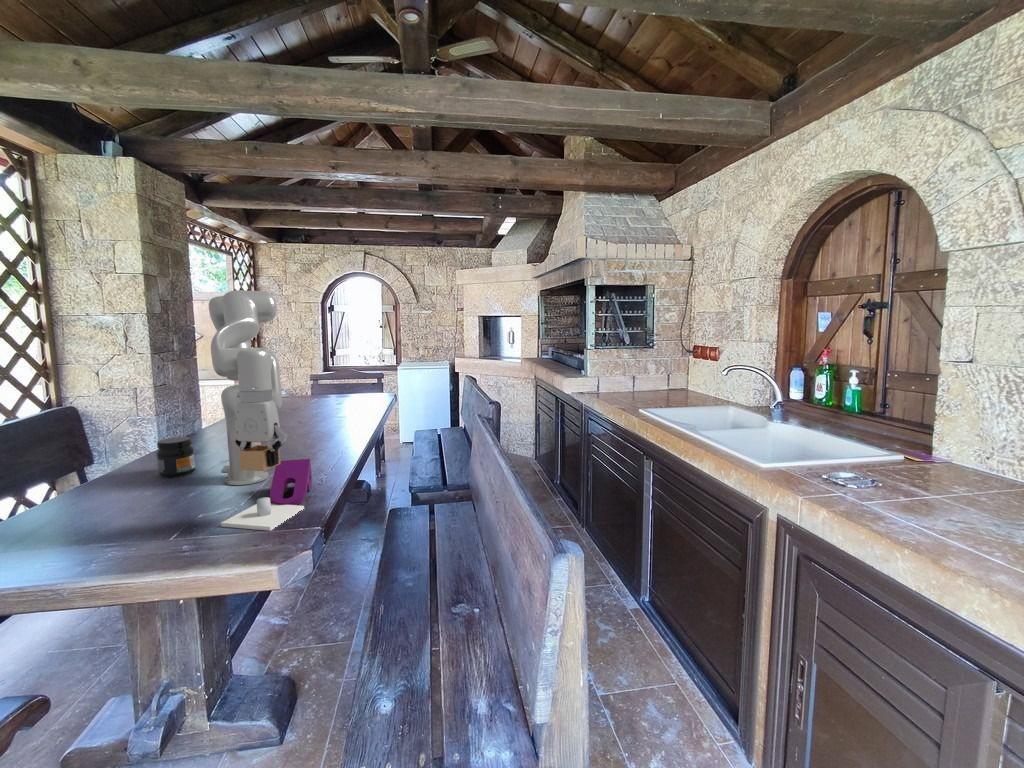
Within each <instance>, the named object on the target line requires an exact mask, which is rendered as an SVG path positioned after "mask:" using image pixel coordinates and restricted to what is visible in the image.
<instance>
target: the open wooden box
mask: <svg viewBox="0 0 1024 768" xmlns="http://www.w3.org/2000/svg"><path fill="white" fill-rule="evenodd" d="M280 450H281V448H280V449H278V456H279V463H278V464H277V465H279V464H281V462H280V461H281V451H280ZM269 451H270V450H269V448H268V446H267V444H261V445H256V446H253V447H250V448H247V449H244V450H241V451H239V454H240V467H241V470H251V471H267V470H269V469H272V468H275V467H276V466H277V465H275V466H272V467H269V465H268V452H269Z"/></svg>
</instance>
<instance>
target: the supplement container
mask: <svg viewBox="0 0 1024 768" xmlns="http://www.w3.org/2000/svg"><path fill="white" fill-rule="evenodd" d="M156 446H157V448H158V449H156V452H155V454H156V461H157V474H158V476H159V477H160V478H162V479H175V478H174V477H176V478H181V477H180V476H182V477H185V475H186V476H189V475H191V474H193V473H194V472H195V471H196V465H195V454H194V450H195V448H194V446H193V445H192V438H191V437H188V436H175V437H168V438H164V439H159V440H158V441H157V442H156ZM188 474H189V475H188Z"/></svg>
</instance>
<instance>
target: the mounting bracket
mask: <svg viewBox="0 0 1024 768" xmlns="http://www.w3.org/2000/svg"><path fill="white" fill-rule="evenodd" d="M280 462H281V464H279V465H277V466H275V467H274V468H275V469H274V473H273V476H272V481H271V486H270V490H269V498H270V503H272V504H277V505H297V504H298V505H300V504H301V503H303V501H305V499H306V498H307V493H308V492H311V490H312V484H313V483H312V481H313V479H312V478H313V475H312V474H313V473H312V466H311V459H310V458H302V459H287V460H280ZM289 484H294V489H293V493H292V496H291V497H288V498H284V494H286V493H287V491H288V487H289V486H288V485H289ZM310 489H311V490H310ZM286 490H287V491H286ZM285 492H286V493H285Z"/></svg>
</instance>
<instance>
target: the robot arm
mask: <svg viewBox="0 0 1024 768" xmlns="http://www.w3.org/2000/svg"><path fill="white" fill-rule="evenodd" d="M277 311H278V307H277V302H276V299H275V297H274V295H273V294H272V293H270V292H269V291H264V290H242V289H241V290H240V289H237V290H231V291H227V292H226V293H225V294H224V295H219V296H215V297H212V298H211V299H210V300H209V302H208V313H209V316H210V317H209V318H210V319H211V322H212V324H213V326H214V328H215V330H216V332H215V334H214V335H213V337H212V339H211V342H210V343H211V344H210V355H211V356H210V357H211V362H212V363H211V365H212V368H213V370H214V373H216V374H217V375H218V376H220V377H223V378H225V377H226V379H228V380H230V381H235V382H236V381H237V382H238V384H234V385H230V386H227V387H225V388H224V389H222V391H221V394H220V399H221V400H220V401H221V405H222V410H223V413H224V419H225V425H226V433H227V434H226V435H227V446H228V447H227V448H228V462H229V465H224V466H223V468H222V469H220V472H221V473H222V474H227V476H226V478H225V479H224V482H225V484H227V485H231V486H245V485H251V484H256V483H259V482H263V481H265V480H267V479H268V478H269V472H268V471H267V470H265V471H251V470H241V467H240V454H239V451H241V450H244V449H247V448H250V447H253V446H256V445H262V443H265V445H267V446H268V448H269V450H270V451H269V452H268V465H269V467H272V466H275V465H277V464H278V463H279V456H278V449H280V450H281V447H282V446H283V445H284V443H285V442H286V441H287V439H288V438H289V436H288V434H287V433H286V432H285V431H283V429H282V428H281V425H280V418H279V413H278V410H279V409H281V408H282V405H283V393H282V383H281V382H282V381H281V376H280V375H281V374H280V365H279V361H278V360H279V359H278V358H277V355H276V354H275V353H274V352H272V351H271V350H269V349H268V348H265V347H252V339H254V338H256V337H257V335H258V334H259V333H260V329H261V326H260V324H261V323H263V324H264V323H269V322H271V321H272V320H274V318H275V317H276V315H277ZM275 467H276V466H275ZM272 468H273V467H272Z"/></svg>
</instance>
